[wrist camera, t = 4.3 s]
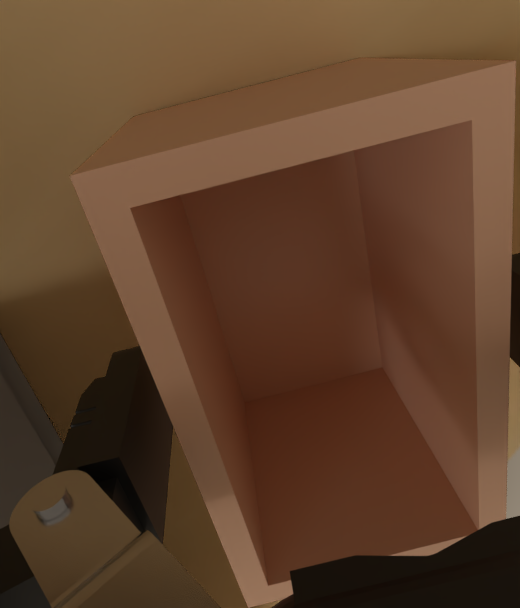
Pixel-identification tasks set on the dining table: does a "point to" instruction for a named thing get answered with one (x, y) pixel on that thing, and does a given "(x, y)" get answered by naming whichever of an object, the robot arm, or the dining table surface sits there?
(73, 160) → the dining table surface
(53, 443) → the big crate
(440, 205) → the small crate
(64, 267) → the dining table surface
